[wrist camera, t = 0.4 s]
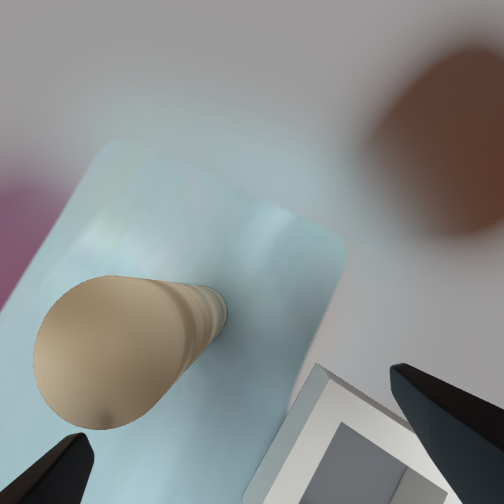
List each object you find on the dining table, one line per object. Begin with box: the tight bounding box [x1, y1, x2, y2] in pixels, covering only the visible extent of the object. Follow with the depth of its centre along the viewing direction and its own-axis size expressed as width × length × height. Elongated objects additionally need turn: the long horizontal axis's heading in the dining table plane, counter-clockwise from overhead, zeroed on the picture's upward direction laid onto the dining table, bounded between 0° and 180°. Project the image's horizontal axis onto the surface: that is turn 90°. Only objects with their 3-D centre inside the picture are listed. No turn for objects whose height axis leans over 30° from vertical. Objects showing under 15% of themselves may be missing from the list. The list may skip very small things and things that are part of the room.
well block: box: [242, 363, 462, 504], centre depth 18 cm, size 12×12×4 cm
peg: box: [33, 276, 227, 430], centre depth 15 cm, size 5×5×14 cm
